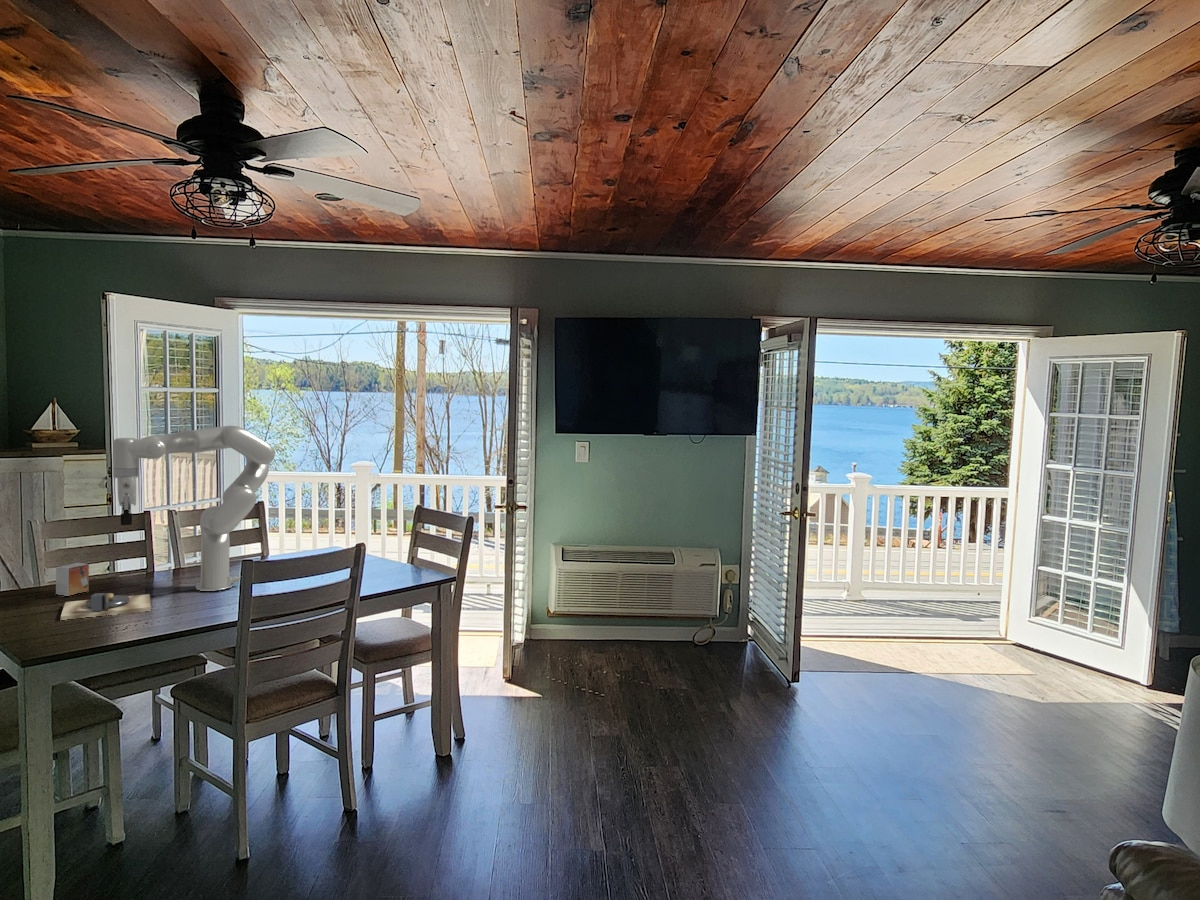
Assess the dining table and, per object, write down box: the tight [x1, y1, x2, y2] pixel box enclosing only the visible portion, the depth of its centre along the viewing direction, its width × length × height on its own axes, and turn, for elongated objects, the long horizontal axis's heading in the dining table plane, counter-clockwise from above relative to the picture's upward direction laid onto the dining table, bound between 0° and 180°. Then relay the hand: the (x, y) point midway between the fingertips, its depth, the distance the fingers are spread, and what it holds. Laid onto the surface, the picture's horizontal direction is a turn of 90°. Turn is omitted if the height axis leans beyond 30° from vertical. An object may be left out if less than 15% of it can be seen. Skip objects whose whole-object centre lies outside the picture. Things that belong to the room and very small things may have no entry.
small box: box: [55, 562, 90, 597], centre depth 247 cm, size 8×6×10 cm
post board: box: [60, 592, 152, 621], centre depth 232 cm, size 24×18×6 cm
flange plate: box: [86, 592, 129, 611], centre depth 230 cm, size 15×12×5 cm
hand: (126, 524), depth 241 cm, fingers closed
